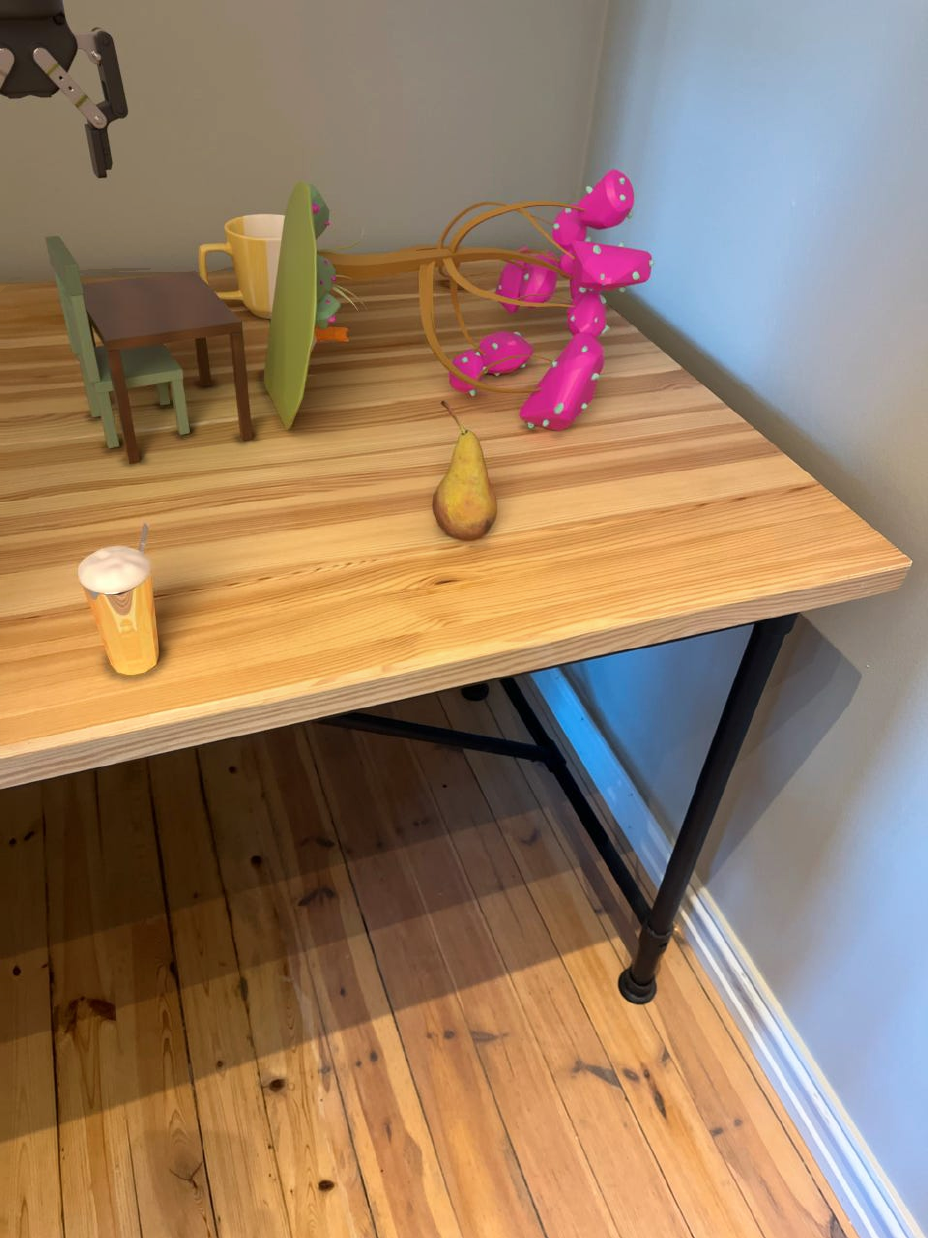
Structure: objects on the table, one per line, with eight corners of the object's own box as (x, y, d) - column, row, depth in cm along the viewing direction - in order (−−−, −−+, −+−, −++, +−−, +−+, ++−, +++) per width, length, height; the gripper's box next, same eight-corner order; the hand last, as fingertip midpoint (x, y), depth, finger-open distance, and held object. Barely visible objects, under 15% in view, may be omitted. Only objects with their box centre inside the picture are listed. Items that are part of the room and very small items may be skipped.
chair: (102, 450, 86) (63, 266, 76) (84, 413, 92) (44, 236, 81) (191, 433, 90) (166, 254, 79) (168, 399, 95) (142, 227, 84)
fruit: (451, 558, 77) (459, 430, 69) (420, 524, 81) (425, 398, 73) (507, 543, 79) (521, 417, 72) (475, 510, 83) (485, 387, 75)
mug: (310, 295, 121) (306, 211, 114) (319, 325, 113) (316, 238, 107) (203, 298, 118) (193, 212, 111) (206, 329, 110) (195, 239, 104)
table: (129, 464, 85) (105, 340, 78) (95, 401, 95) (70, 285, 87) (253, 439, 90) (242, 321, 83) (209, 382, 100) (195, 270, 92)
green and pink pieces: (283, 55, 86) (618, 122, 96) (258, 312, 108) (533, 343, 118) (307, 239, 69) (710, 294, 80) (272, 499, 91) (591, 515, 101)
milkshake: (190, 649, 66) (171, 535, 60) (133, 691, 63) (105, 575, 56) (146, 625, 68) (122, 512, 62) (87, 664, 64) (56, 549, 58)
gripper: (86, -68, 70) (123, 162, 80) (-125, -76, 64) (-56, 174, 74) (110, -59, 65) (146, 185, 75) (-117, -66, 59) (-44, 200, 69)
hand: (46, 179), depth 75 cm, fingers open, 8 cm apart
